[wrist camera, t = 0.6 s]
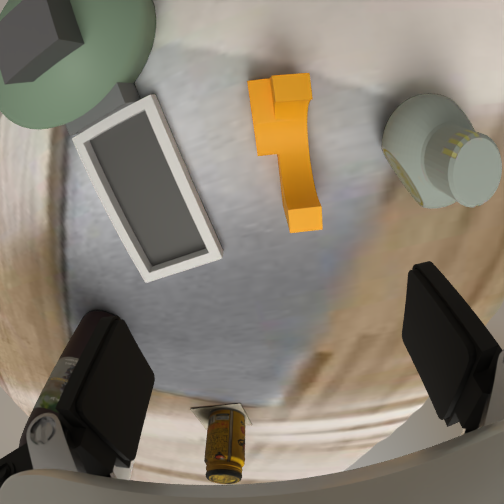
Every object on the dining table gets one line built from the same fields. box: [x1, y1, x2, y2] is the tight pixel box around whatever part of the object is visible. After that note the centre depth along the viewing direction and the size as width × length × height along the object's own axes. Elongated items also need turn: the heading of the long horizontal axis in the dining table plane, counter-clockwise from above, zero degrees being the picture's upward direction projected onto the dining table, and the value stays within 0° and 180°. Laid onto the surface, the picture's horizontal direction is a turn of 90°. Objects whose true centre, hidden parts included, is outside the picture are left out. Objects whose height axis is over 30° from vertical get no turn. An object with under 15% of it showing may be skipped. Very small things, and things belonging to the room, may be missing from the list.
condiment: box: [190, 404, 252, 484], centre depth 42 cm, size 7×8×12 cm
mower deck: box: [0, 0, 223, 283], centre depth 22 cm, size 17×35×9 cm, turn 20°
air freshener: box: [382, 94, 502, 208], centre depth 23 cm, size 11×8×10 cm
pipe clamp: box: [247, 73, 323, 233], centre depth 25 cm, size 12×4×6 cm, turn 8°
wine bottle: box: [19, 310, 114, 447], centre depth 25 cm, size 7×7×30 cm
